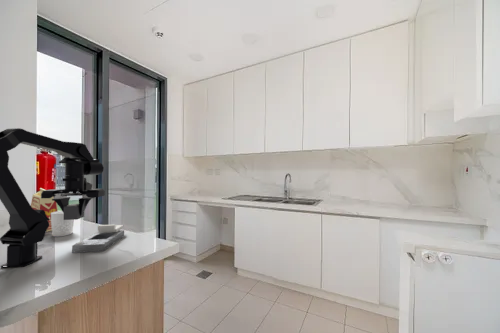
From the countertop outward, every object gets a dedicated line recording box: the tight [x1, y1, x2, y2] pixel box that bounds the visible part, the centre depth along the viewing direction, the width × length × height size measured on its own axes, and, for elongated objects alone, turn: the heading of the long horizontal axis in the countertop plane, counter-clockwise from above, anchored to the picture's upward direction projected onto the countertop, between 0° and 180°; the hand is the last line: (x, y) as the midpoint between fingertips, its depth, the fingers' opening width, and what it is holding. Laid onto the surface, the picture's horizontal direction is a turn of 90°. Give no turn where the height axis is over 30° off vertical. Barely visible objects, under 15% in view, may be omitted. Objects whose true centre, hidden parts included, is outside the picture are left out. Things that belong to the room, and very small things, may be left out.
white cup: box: [51, 210, 75, 238], centre depth 92 cm, size 8×8×10 cm
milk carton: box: [30, 187, 59, 233], centre depth 98 cm, size 9×9×20 cm
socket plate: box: [71, 229, 125, 254], centre depth 81 cm, size 17×10×2 cm, turn 10°
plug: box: [64, 203, 85, 221], centre depth 80 cm, size 4×4×5 cm
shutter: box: [97, 224, 124, 233], centre depth 89 cm, size 8×7×3 cm
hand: (74, 215), depth 80 cm, fingers closed on plug, 4 cm apart
